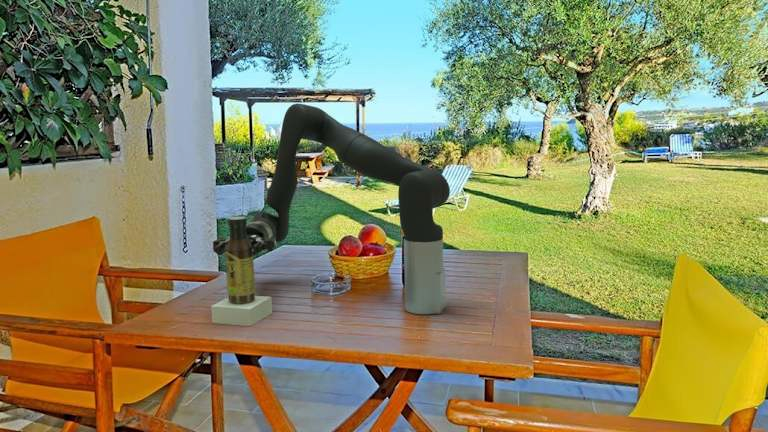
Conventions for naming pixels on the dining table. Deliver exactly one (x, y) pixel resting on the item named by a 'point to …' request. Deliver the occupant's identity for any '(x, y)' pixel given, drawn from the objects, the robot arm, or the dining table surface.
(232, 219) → the sauce bottle
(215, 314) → the plinth
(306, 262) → the dining table surface
